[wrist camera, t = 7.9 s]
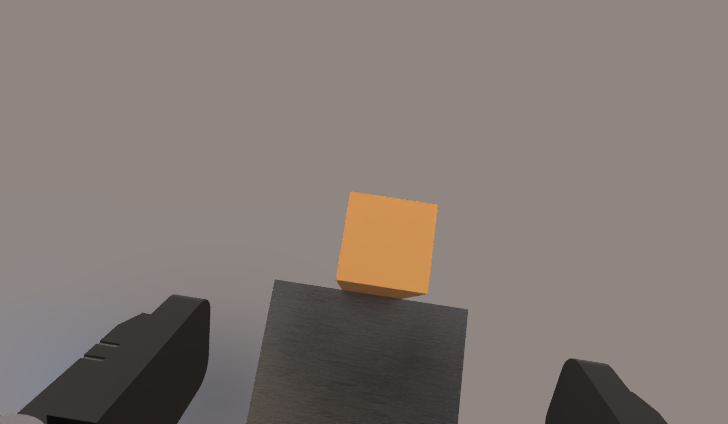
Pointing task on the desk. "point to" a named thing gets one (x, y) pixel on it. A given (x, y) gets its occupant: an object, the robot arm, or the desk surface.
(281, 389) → the cabinet
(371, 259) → the orange block
